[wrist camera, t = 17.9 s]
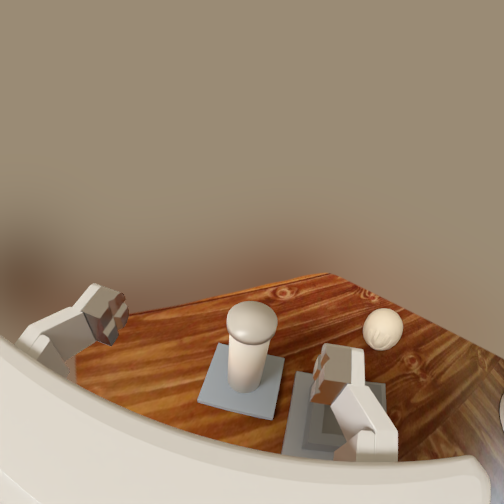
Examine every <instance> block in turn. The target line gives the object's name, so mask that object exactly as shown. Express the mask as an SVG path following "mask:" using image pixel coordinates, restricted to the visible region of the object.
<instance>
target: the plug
mask: <svg viewBox="0 0 504 504" xmlns="http://www.w3.org/2000/svg"><path fill="white" fill-rule="evenodd" d="M276 327H277V316H276V314H275V313H274V311H273V310H272V309H271V308H270V307H268V306H267V305H265V304H262V303H259V302H255V301H246V302H241V303H239V304H236V305H235V306H233V307H232V308H231V309H230V311H229V312H228V315H227V330H228V332H229V334H230V336H229V356H228V377H227V380H228V384H229V386H230V387H231V388H232V389H233V390H235V391H236V392H239V393H250V392H253V391H254V390H256V389H257V388H258V386H259V384H260V381H261V377H262V373H263V369H264V364H265V360H266V356H267V352H268V347H269V343H270V339H271V338H272V337H273V336H274V334H275V331H276Z"/></svg>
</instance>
